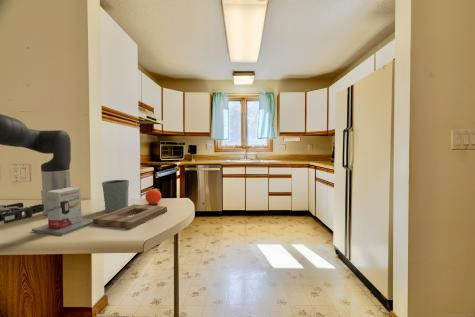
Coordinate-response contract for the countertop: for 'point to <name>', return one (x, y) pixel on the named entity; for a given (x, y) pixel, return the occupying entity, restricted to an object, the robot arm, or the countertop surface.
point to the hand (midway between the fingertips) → (32, 206)
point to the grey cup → (115, 194)
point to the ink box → (64, 207)
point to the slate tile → (66, 229)
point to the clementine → (153, 196)
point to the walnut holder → (121, 219)
